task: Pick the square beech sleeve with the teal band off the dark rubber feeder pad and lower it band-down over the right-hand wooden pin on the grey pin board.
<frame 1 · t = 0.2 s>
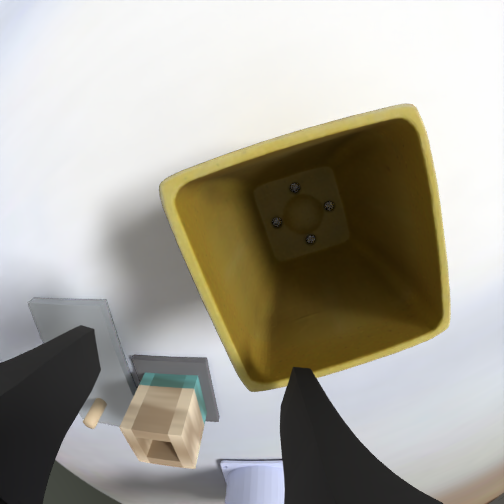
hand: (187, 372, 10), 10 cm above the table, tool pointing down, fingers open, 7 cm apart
flower pot: (300, 210, 18), on the table
feeder pad: (178, 388, 23), on the table
pin board: (92, 368, 23), on the table
sleeve: (176, 393, 23), point 1 cm above the table, touching feeder pad
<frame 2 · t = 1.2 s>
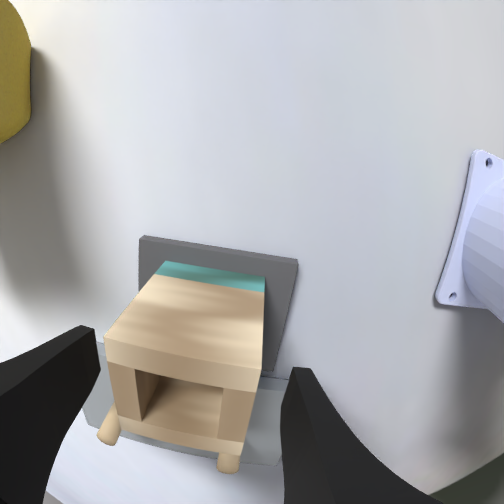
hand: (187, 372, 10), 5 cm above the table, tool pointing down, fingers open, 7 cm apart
flower pot: (5, 96, 11), on the table
feeder pad: (211, 306, 15), on the table
pin board: (179, 408, 17), on the table
sleeve: (209, 312, 14), point 1 cm above the table, touching feeder pad
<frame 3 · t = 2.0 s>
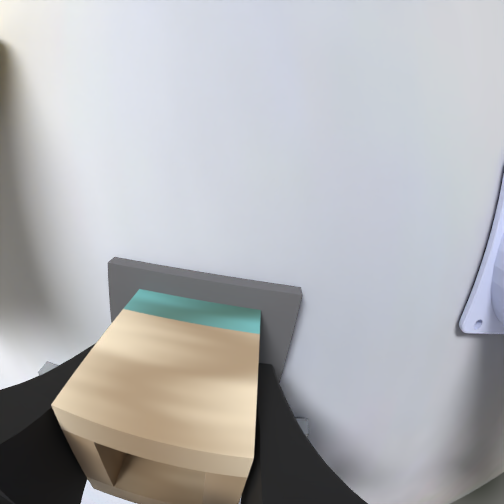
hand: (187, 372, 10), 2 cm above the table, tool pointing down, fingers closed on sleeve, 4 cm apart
feeder pad: (197, 340, 12), on the table
sleeve: (194, 349, 11), point 1 cm above the table, touching feeder pad, gripper
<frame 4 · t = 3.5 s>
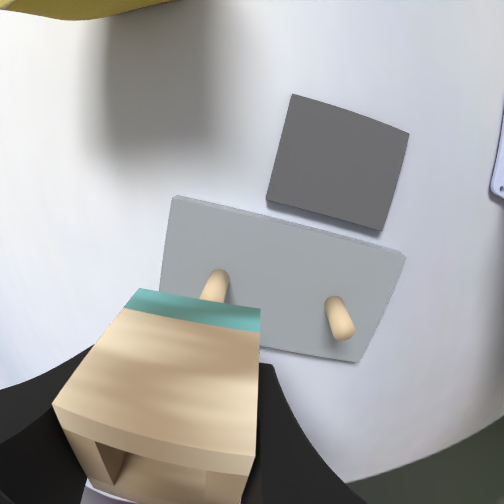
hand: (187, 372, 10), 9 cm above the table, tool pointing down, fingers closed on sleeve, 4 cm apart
feeder pad: (339, 163, 16), on the table
pin board: (277, 285, 19), on the table
sleeve: (194, 348, 11), point 8 cm above the table, touching gripper
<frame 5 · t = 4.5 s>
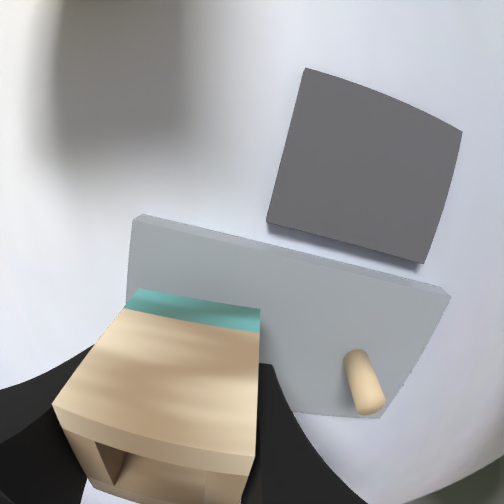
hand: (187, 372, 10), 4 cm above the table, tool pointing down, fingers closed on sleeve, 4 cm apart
feeder pad: (370, 169, 11), on the table
pin board: (281, 334, 14), on the table
sleeve: (194, 348, 11), point 2 cm above the table, touching gripper
when the fingers open (4 cm above the table, at t = 5.0 s): sleeve drops 1 cm, resting on pin board.
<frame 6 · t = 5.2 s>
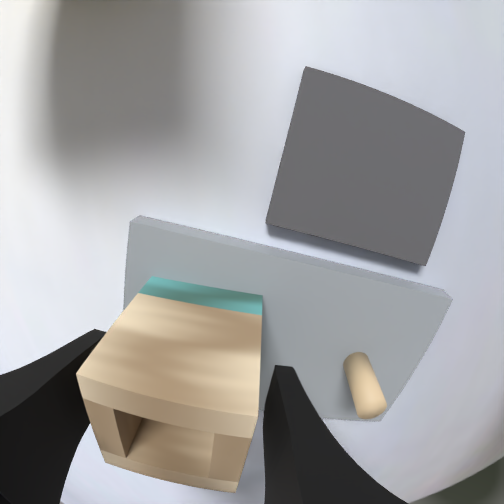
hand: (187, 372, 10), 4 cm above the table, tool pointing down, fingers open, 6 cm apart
feeder pad: (372, 169, 11), on the table
pin board: (281, 337, 13), on the table
sleeve: (201, 332, 12), point 1 cm above the table, touching pin board
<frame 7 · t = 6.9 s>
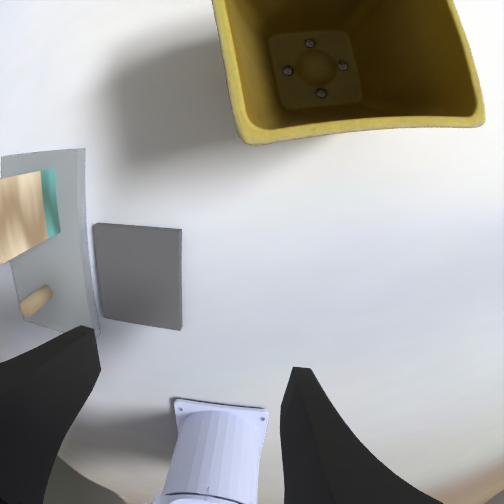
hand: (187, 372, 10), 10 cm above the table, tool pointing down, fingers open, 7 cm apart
flower pot: (313, 67, 15), on the table
feeder pad: (139, 276, 20), on the table
pin board: (47, 244, 19), on the table
sleeve: (35, 202, 17), point 1 cm above the table, touching pin board
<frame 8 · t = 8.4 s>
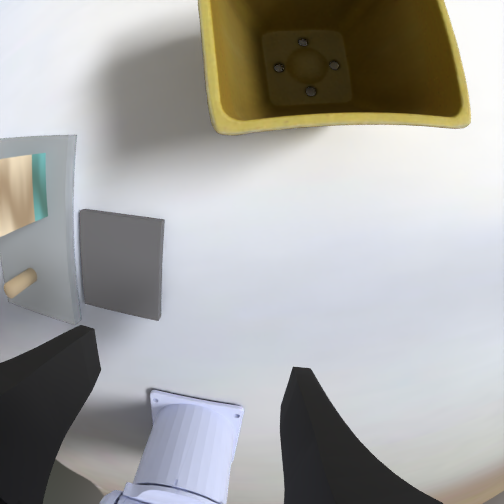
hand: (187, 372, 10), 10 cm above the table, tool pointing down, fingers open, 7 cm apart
flower pot: (304, 66, 15), on the table
feeder pad: (121, 264, 20), on the table
pin board: (35, 228, 19), on the table
sleeve: (25, 185, 17), point 1 cm above the table, touching pin board
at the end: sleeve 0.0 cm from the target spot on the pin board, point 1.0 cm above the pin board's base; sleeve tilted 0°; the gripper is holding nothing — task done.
